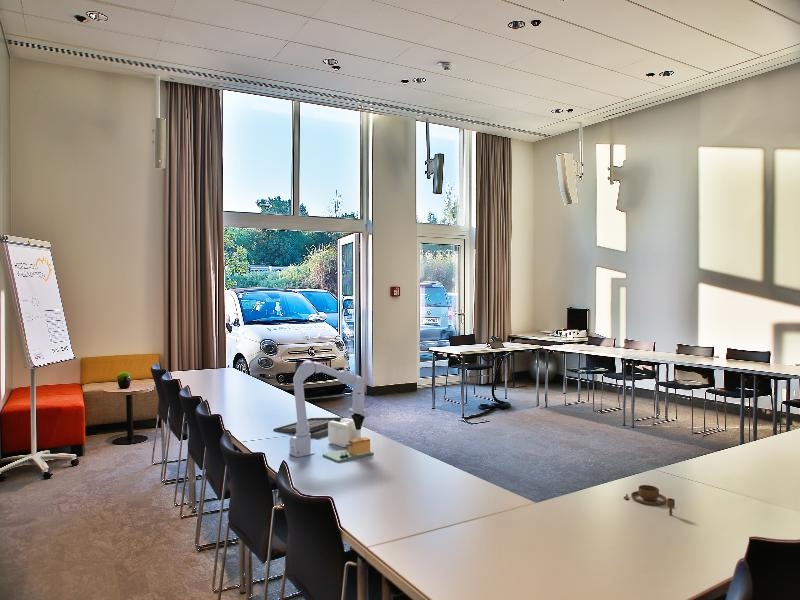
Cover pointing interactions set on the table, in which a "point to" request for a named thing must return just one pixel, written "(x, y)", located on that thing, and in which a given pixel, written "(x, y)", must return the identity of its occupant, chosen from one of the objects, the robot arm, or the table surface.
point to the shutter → (312, 426)
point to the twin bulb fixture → (344, 455)
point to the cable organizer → (342, 432)
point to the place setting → (651, 497)
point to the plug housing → (359, 446)
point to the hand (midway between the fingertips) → (358, 429)
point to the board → (336, 455)
